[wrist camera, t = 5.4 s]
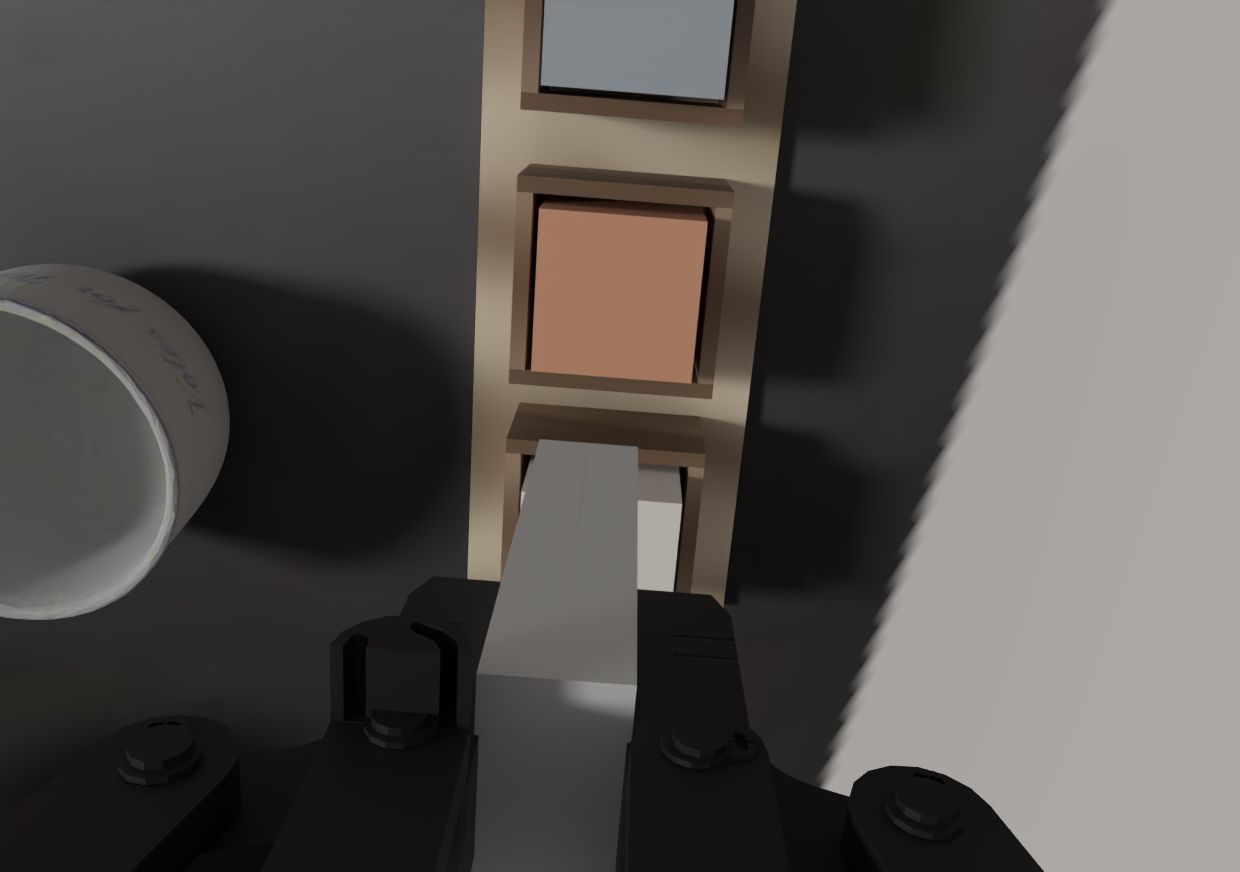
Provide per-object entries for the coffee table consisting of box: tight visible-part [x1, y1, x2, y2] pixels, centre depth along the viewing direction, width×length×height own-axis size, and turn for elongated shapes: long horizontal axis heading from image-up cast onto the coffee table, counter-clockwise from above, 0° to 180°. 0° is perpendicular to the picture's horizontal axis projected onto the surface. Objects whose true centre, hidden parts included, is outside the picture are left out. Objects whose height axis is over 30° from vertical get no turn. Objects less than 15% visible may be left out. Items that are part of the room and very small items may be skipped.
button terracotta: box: [531, 194, 708, 384], centre depth 34 cm, size 5×5×4 cm
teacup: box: [0, 264, 230, 620], centre depth 35 cm, size 14×11×8 cm
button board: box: [468, 0, 797, 607], centre depth 35 cm, size 26×10×4 cm, turn 176°
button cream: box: [520, 455, 682, 592], centre depth 35 cm, size 5×5×4 cm
